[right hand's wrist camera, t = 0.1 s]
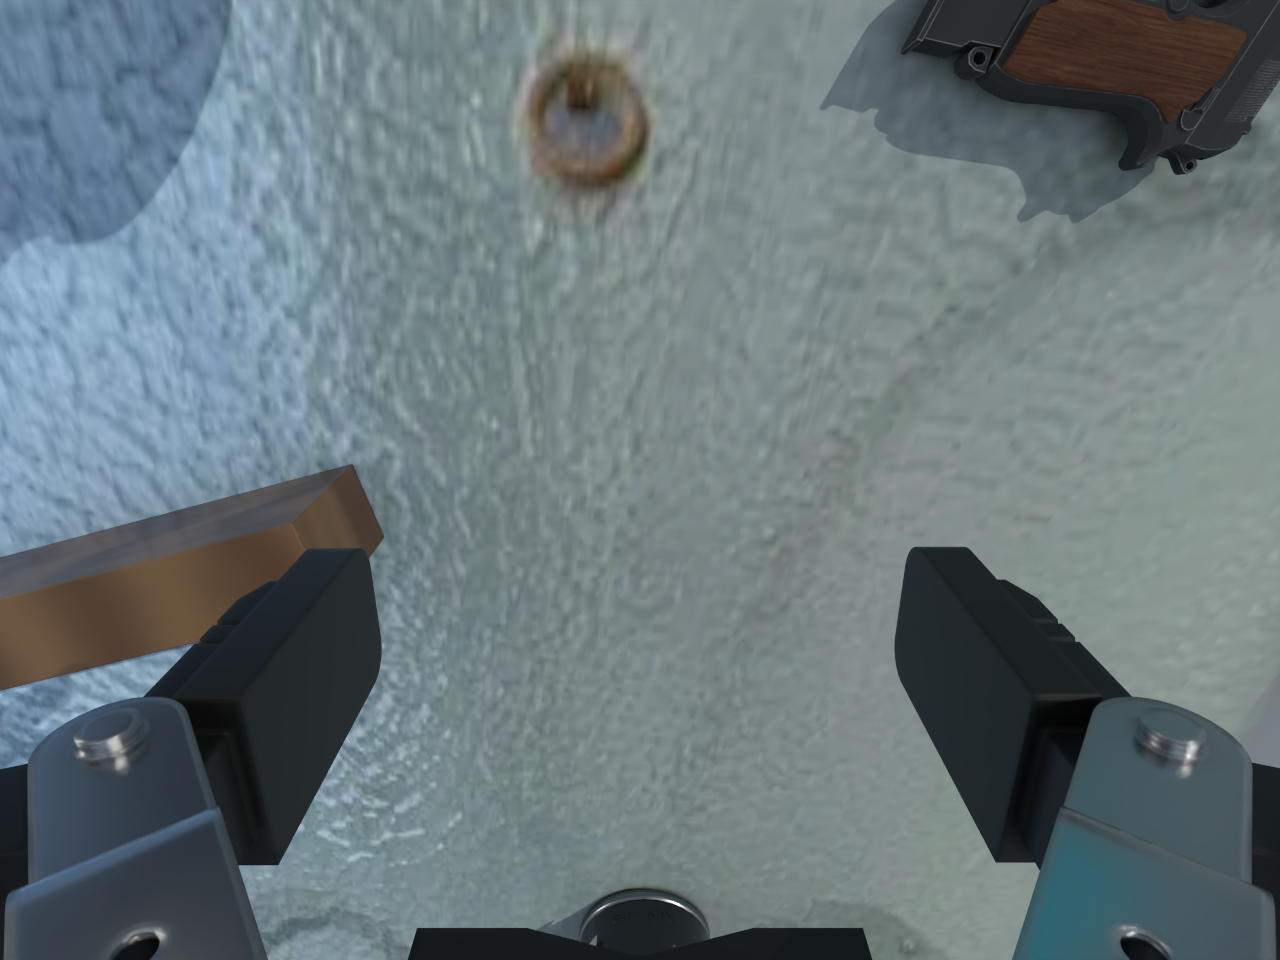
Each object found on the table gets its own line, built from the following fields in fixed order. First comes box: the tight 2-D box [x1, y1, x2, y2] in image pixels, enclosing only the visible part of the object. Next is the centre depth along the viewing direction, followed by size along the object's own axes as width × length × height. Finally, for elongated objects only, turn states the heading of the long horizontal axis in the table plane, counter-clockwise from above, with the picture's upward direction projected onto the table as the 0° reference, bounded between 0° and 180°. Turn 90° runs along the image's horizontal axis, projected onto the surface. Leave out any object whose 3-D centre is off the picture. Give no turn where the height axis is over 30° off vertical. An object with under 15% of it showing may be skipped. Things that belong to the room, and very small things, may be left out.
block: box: [0, 465, 384, 691], centre depth 40 cm, size 22×5×8 cm, turn 105°
